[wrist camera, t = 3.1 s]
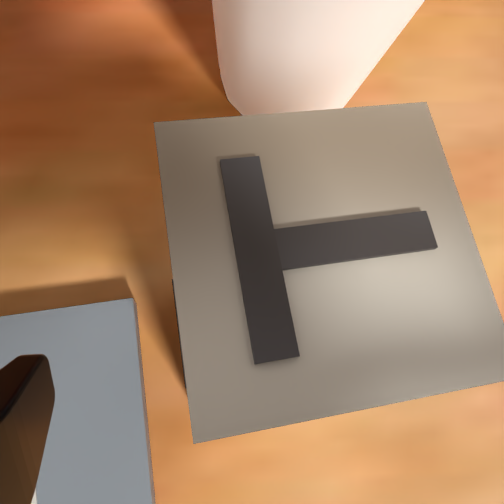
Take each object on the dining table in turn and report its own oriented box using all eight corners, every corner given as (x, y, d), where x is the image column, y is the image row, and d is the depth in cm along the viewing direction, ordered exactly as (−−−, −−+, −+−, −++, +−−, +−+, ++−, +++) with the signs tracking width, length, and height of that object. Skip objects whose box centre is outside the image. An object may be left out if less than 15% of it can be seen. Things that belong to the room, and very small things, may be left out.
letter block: (316, 389, 16) (527, 377, 6) (191, 413, 16) (181, 447, 5) (291, 274, 18) (429, 98, 7) (176, 290, 17) (143, 119, 6)
